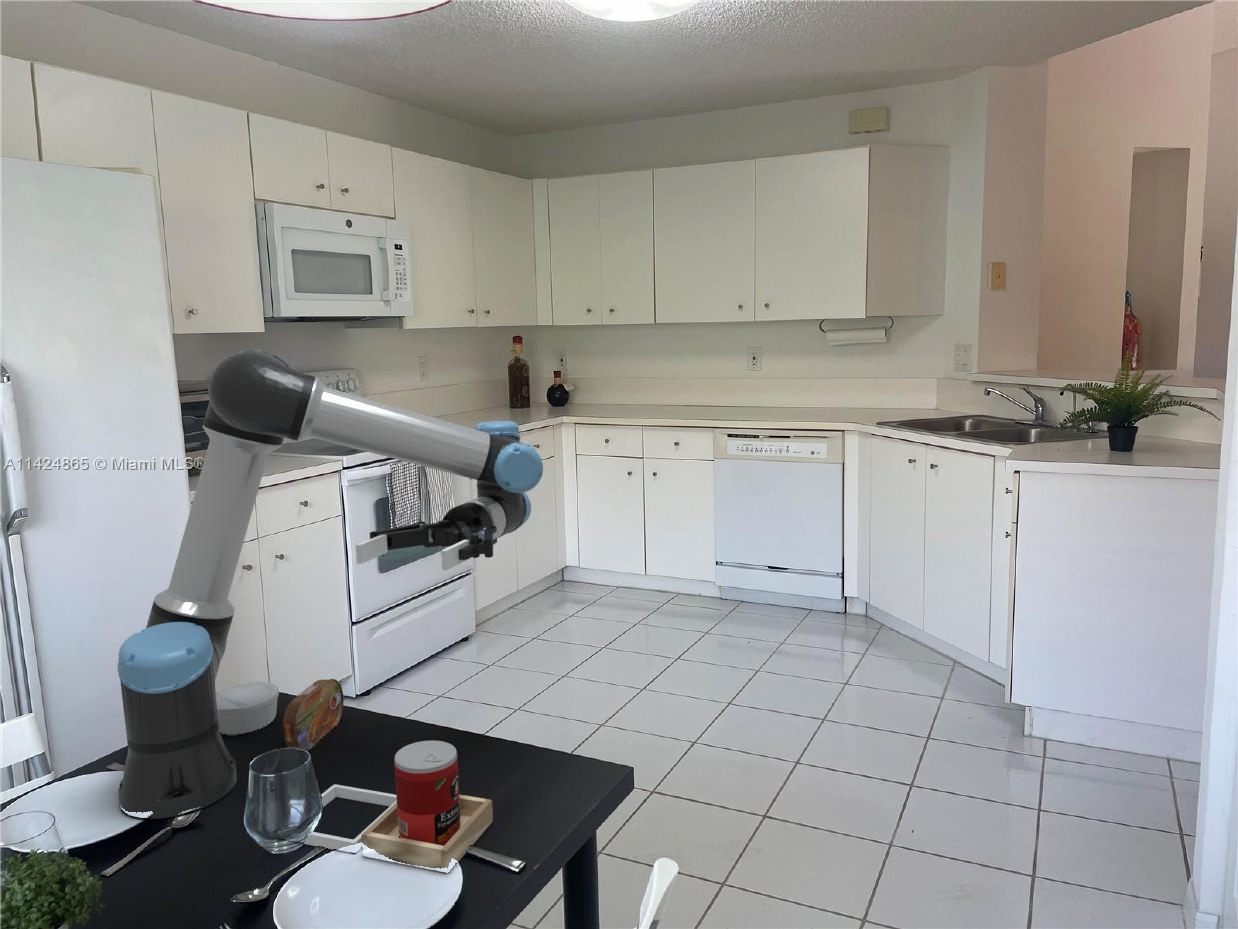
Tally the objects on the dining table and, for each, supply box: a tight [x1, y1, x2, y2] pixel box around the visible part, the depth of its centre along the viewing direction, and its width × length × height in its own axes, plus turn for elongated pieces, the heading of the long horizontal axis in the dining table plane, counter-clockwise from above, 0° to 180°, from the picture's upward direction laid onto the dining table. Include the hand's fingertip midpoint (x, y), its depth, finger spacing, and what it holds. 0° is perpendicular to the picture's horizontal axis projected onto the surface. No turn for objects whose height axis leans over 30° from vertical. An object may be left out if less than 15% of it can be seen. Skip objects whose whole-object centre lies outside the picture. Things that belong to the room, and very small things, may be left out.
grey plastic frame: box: [303, 784, 397, 851], centre depth 116 cm, size 12×12×2 cm
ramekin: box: [215, 681, 280, 736], centre depth 147 cm, size 11×11×5 cm
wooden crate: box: [361, 794, 494, 869], centre depth 112 cm, size 12×12×3 cm
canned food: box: [394, 740, 461, 846], centre depth 112 cm, size 8×8×11 cm
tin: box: [282, 678, 345, 751], centre depth 141 cm, size 15×3×8 cm, turn 170°
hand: (400, 557), depth 120 cm, fingers open, 13 cm apart
